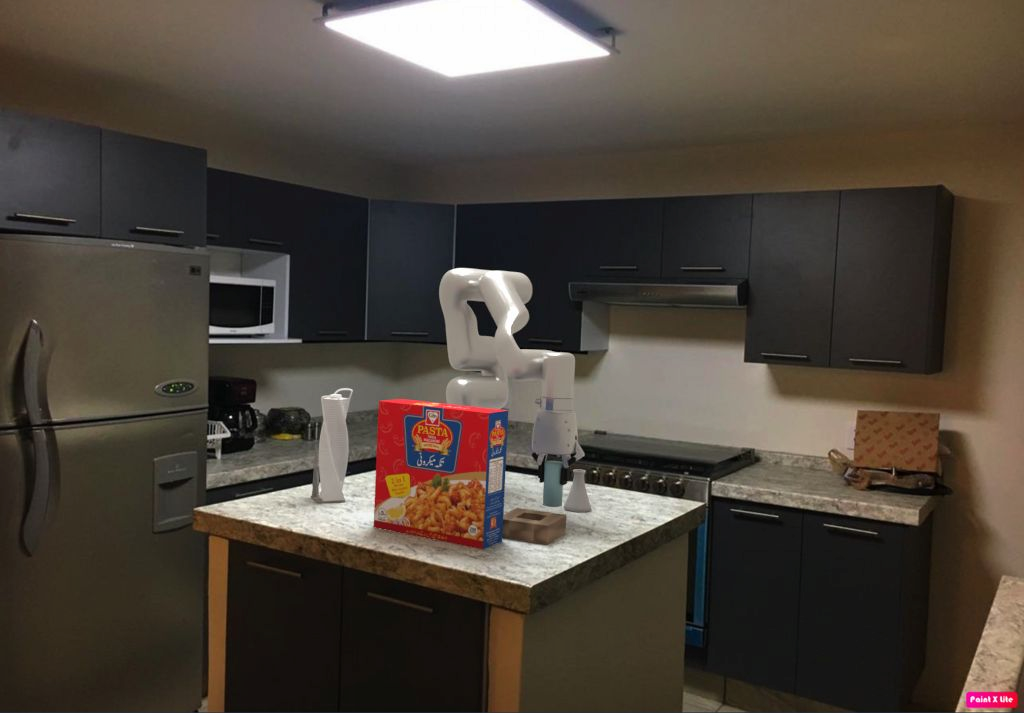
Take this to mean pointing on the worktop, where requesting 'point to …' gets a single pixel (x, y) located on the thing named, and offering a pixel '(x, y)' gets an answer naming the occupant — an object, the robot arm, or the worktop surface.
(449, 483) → the pasta box
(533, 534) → the walnut pocket block
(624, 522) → the worktop surface
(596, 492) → the worktop surface
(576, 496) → the flask
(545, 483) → the teal peg
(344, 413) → the skyscraper
